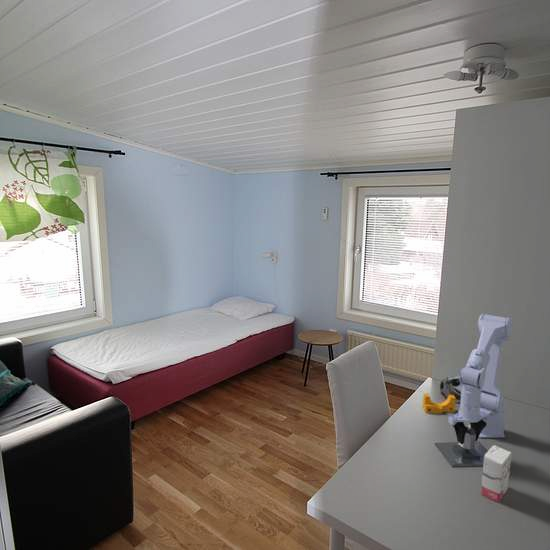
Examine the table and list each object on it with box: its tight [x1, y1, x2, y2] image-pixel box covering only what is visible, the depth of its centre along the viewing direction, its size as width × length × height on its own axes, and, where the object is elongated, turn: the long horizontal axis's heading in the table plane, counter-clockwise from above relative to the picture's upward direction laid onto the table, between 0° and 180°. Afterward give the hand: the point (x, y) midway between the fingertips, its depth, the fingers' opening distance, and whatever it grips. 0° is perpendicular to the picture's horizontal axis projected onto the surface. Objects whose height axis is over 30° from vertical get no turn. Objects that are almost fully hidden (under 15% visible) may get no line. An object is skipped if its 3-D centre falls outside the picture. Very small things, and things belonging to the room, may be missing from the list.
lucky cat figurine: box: [439, 375, 461, 404], centre depth 162 cm, size 15×12×14 cm
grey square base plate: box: [434, 441, 489, 468], centre depth 124 cm, size 16×12×6 cm
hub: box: [459, 427, 477, 450], centre depth 124 cm, size 5×5×5 cm
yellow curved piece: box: [422, 393, 456, 415], centre depth 153 cm, size 12×4×6 cm, turn 84°
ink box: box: [480, 444, 512, 503], centre depth 107 cm, size 9×5×12 cm, turn 132°
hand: (467, 441), depth 124 cm, fingers closed on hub, 5 cm apart
